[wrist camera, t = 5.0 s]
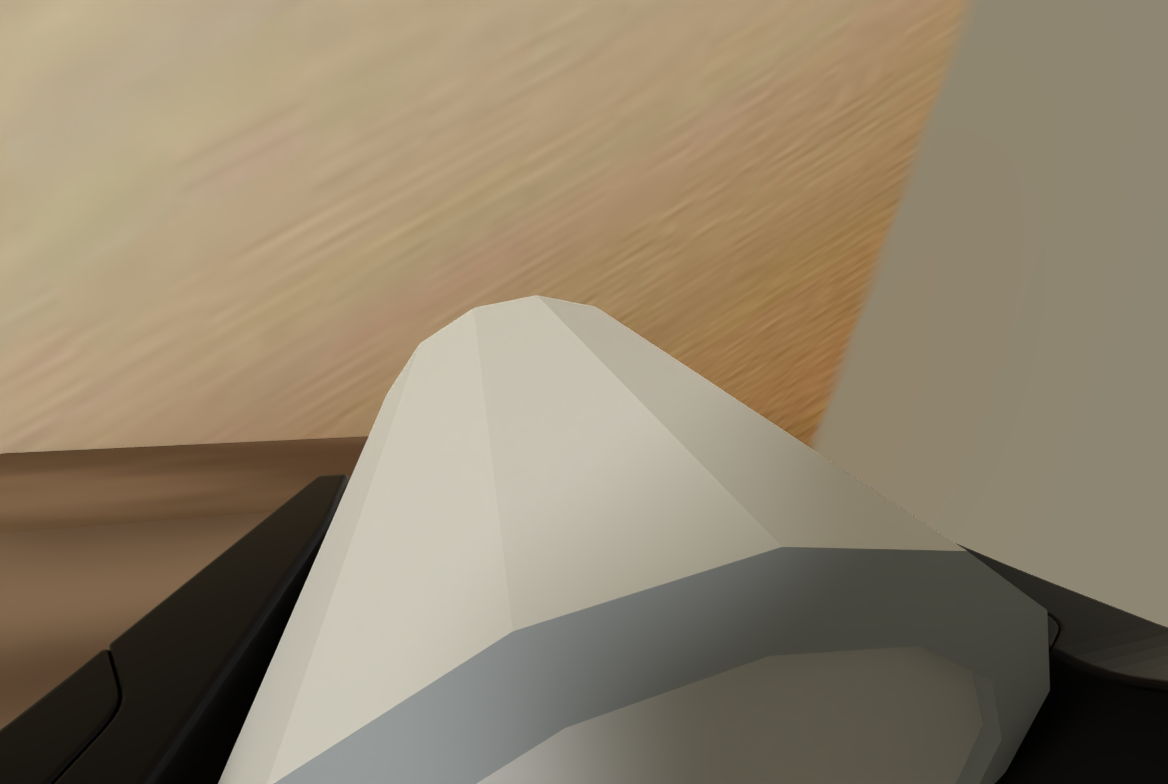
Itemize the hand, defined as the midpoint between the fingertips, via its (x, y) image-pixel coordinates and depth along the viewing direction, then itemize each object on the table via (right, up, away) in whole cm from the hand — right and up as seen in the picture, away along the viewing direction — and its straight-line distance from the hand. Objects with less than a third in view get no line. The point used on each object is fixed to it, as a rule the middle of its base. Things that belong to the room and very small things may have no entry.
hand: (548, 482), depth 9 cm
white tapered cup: (0, +1, +1) cm, 2 cm away
